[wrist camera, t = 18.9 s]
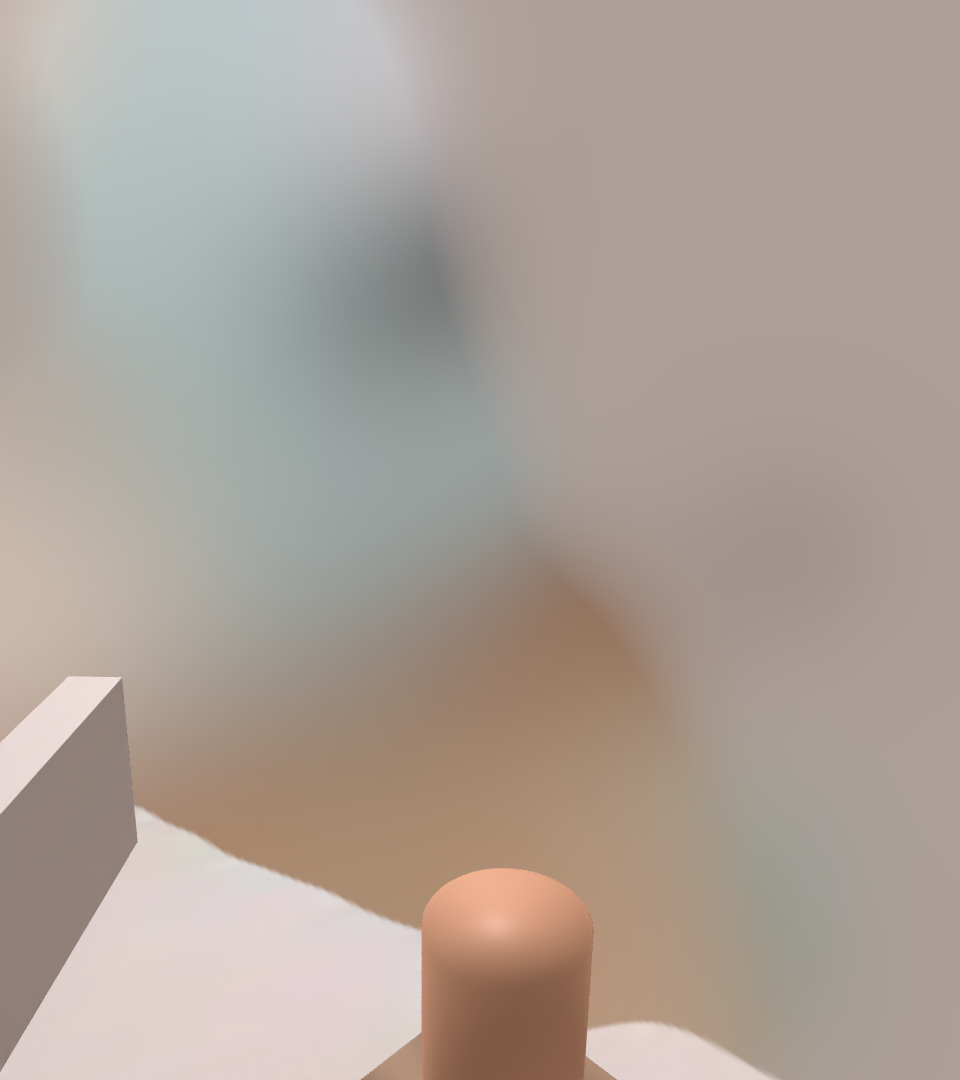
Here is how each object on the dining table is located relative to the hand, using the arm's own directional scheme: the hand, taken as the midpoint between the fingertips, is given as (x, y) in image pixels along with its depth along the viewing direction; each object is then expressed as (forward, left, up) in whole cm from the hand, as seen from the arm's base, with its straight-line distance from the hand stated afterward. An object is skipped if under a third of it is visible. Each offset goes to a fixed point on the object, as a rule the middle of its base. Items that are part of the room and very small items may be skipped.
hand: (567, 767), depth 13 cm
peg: (+7, +7, -29) cm, 30 cm away
